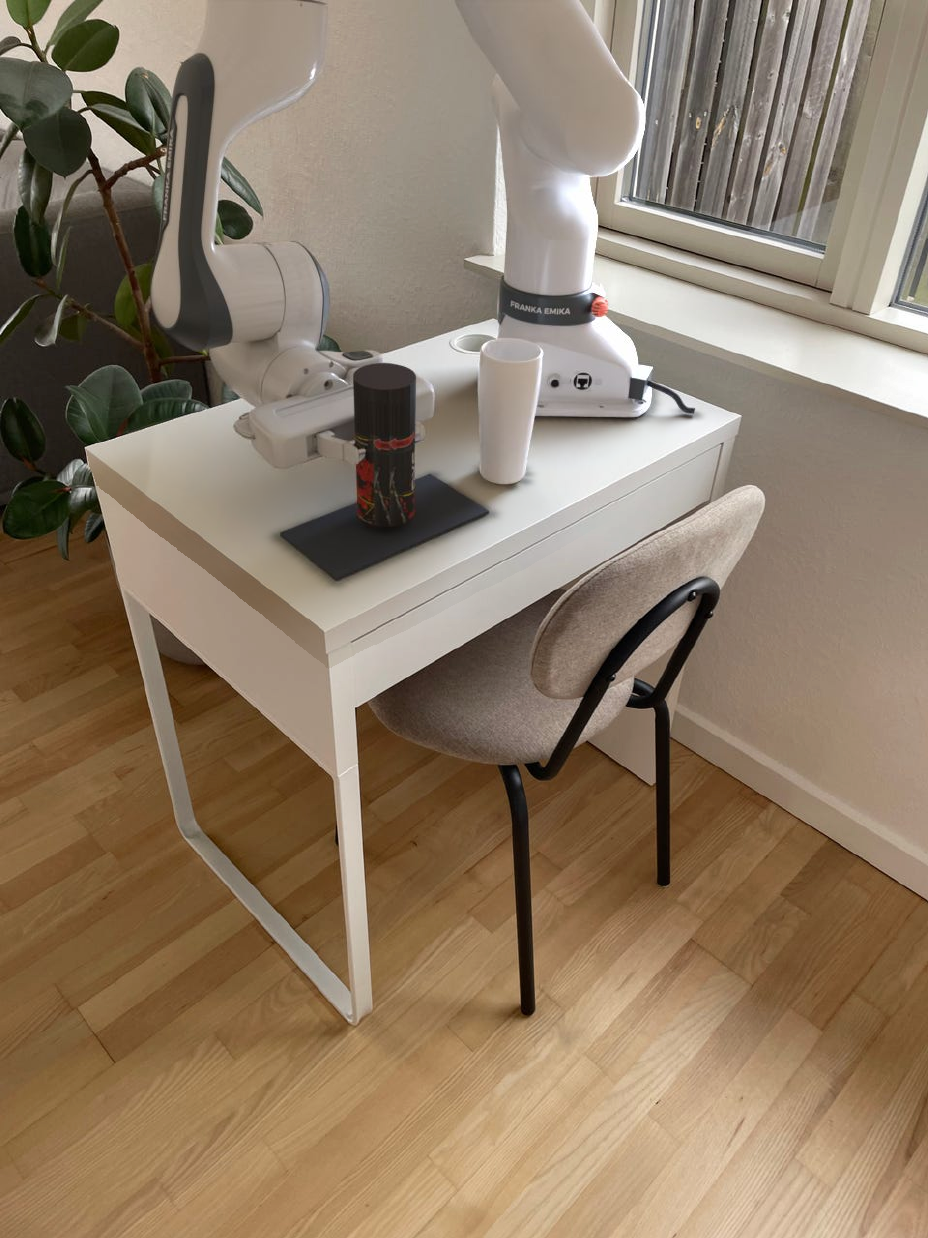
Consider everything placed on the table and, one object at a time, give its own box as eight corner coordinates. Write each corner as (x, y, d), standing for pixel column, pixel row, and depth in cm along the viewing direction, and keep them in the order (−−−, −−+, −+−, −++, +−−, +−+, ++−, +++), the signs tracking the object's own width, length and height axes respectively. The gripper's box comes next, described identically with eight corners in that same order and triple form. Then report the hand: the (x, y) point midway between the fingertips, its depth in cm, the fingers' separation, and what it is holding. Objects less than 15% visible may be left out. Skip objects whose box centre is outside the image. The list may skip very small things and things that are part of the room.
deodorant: (418, 524, 95) (421, 387, 86) (360, 529, 94) (356, 391, 85) (409, 494, 100) (410, 361, 90) (353, 498, 99) (349, 364, 89)
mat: (430, 476, 106) (430, 473, 106) (489, 513, 101) (489, 510, 100) (280, 535, 96) (279, 532, 95) (336, 581, 90) (336, 577, 90)
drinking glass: (526, 493, 104) (539, 366, 95) (467, 485, 105) (473, 358, 96) (535, 464, 109) (547, 341, 100) (478, 457, 110) (485, 333, 101)
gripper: (221, 393, 92) (299, 447, 84) (386, 346, 103) (468, 390, 95) (228, 450, 96) (303, 507, 88) (386, 399, 107) (466, 445, 99)
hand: (390, 445), depth 92 cm, fingers closed on deodorant, 6 cm apart
